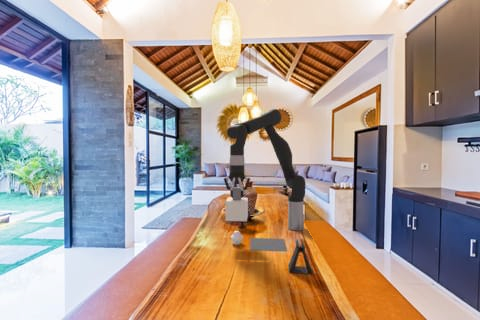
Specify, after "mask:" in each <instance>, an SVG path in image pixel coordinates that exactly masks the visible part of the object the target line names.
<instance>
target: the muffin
mask: <svg viewBox="0 0 480 320" xmlns="http://www.w3.org/2000/svg"><path fill="white" fill-rule="evenodd" d="M243 237H244V236H243V235H242V234H241V232H240V231H239V230H235V231H233V233H232V234H231V236H230V240H231V242H232V244H233V245H236V246H237V245H240V244H241V243H242V241H243Z"/></svg>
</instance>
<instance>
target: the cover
mask: <svg viewBox="0 0 480 320" xmlns="http://www.w3.org/2000/svg"><path fill="white" fill-rule="evenodd" d="M248 203H249V200H248V197H242V198H241V188H240V186H239V187H238V186H237V187H236V186H234V187H233V198H232V197H231V196H230V197H227V198H226V200H225V208H224V209H225V212H224V213H225V215H224V216H225V219H224V220H225V222H241V221H244V222H248V219H247V217H248V211H249V209H248V208H249V207H248V206H249V204H248Z"/></svg>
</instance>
